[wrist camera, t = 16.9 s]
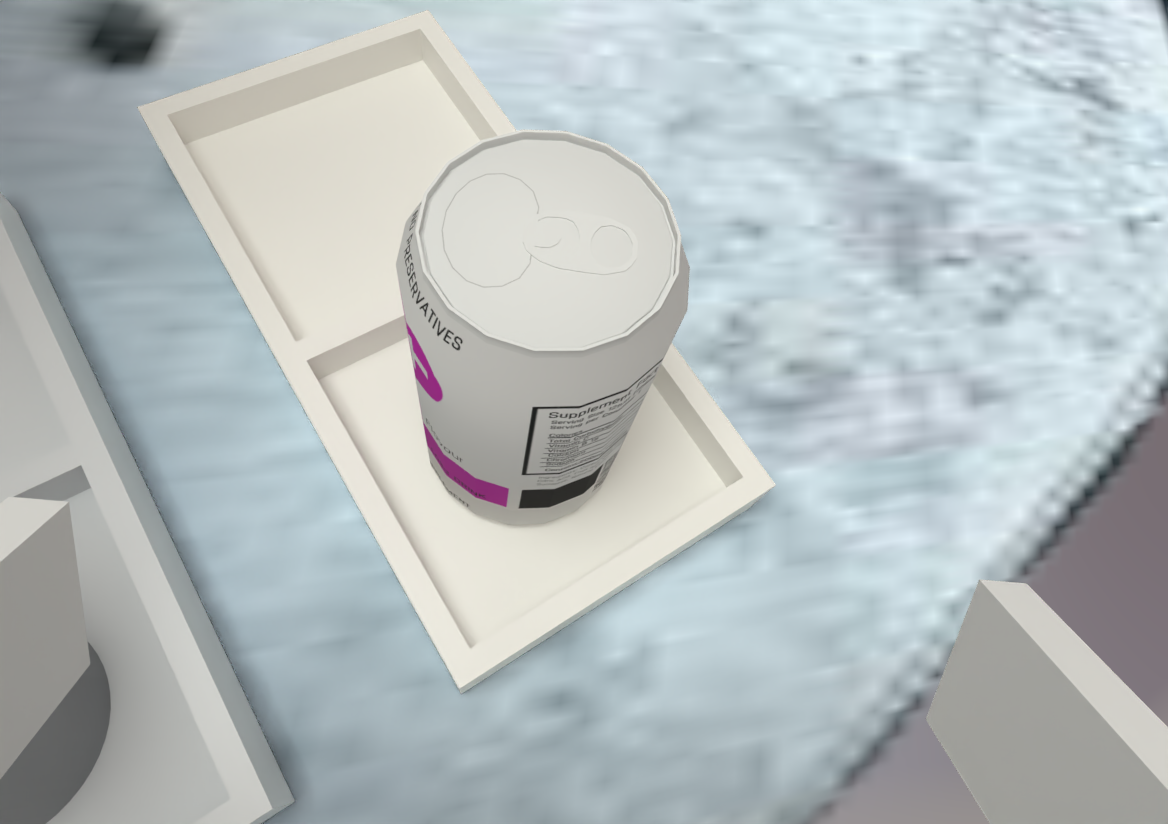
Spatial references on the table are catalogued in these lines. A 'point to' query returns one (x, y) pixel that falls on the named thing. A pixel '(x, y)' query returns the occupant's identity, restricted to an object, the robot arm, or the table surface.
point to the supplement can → (537, 316)
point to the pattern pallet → (115, 604)
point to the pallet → (381, 346)
